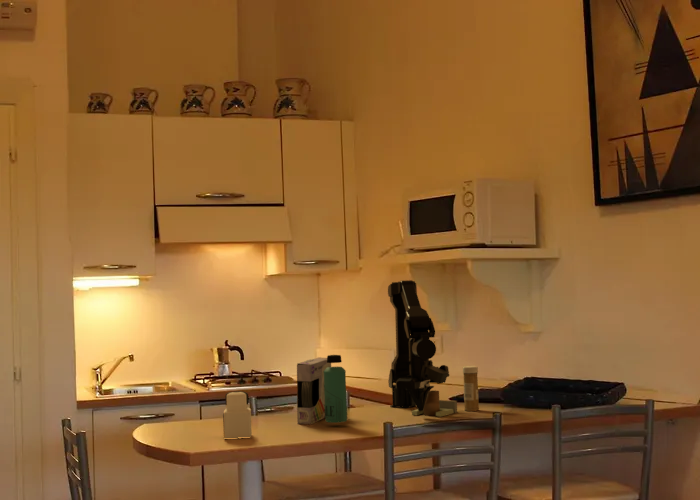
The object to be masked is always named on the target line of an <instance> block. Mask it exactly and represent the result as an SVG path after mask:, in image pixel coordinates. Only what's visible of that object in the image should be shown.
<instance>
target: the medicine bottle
mask: <svg viewBox="0 0 700 500" xmlns="http://www.w3.org/2000/svg"><path fill="white" fill-rule="evenodd" d="M224 397H225V399H224V400H225V409H224V410H223V414H222V417H223V439H224V438H238V437H251V438H252V408H250V407H249V393H248V392H246V391H243V390H242V391H241V390H239V391H229V392H227V393H226V394H225V395H224Z"/></svg>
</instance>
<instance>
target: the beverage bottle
mask: <svg viewBox="0 0 700 500" xmlns="http://www.w3.org/2000/svg"><path fill="white" fill-rule="evenodd" d="M326 358H327V363H331V364H337V363H338V364H339V363H340V364H341V363H342V362H343V360H342V356H341V354H330V355H329V354H328V355H327V356H326ZM346 371H347V370H346V369H345V368H344V367H342V366H331V367H327V368H326V369H325V370H324V394H325V405H324V406H325V418H324V420H325V422H327V423H333V424H334V423H336V424H337V423H345V422H347V421H348V418H349V417H348V415H349V414H348V413H349V412H348V404H347V403H348V402H347V401H348V398H347V382H346V381H347V379H346V377H347V376H346Z"/></svg>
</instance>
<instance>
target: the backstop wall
mask: <svg viewBox="0 0 700 500" xmlns="http://www.w3.org/2000/svg"><path fill="white" fill-rule="evenodd" d="M439 405H440V408H443V409H453V412H454V413H453V414H456V413H458V400H448V399H447V400H445V399H443V400H442V399H439Z"/></svg>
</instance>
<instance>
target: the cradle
mask: <svg viewBox="0 0 700 500" xmlns="http://www.w3.org/2000/svg"><path fill="white" fill-rule="evenodd" d="M452 414H455V413H454V412H453V409H443V408H440V411H439V412H436V416H435V417H444V416H448V415H452ZM419 415H424V409H423V411H419V410H418V409H417V408H416V409H414V410H411V416H419Z"/></svg>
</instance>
